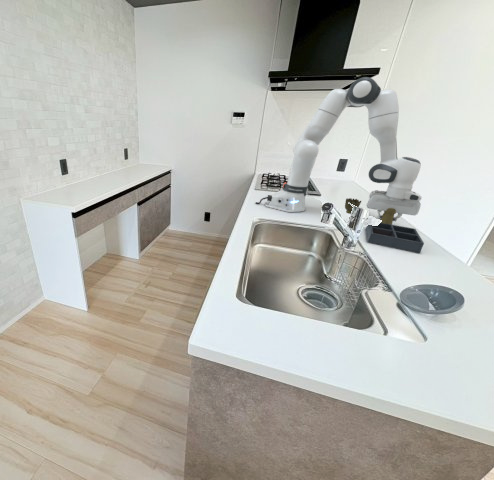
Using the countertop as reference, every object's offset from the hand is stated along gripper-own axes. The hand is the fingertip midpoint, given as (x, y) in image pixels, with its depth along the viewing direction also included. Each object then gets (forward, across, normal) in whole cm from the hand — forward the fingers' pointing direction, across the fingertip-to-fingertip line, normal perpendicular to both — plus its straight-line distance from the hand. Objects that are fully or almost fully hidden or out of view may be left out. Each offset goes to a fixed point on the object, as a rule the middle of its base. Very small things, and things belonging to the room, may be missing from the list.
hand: (386, 219), depth 130 cm
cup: (+4, -15, +15) cm, 22 cm away
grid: (+4, +1, -17) cm, 18 cm away
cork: (+4, 0, 0) cm, 4 cm away
